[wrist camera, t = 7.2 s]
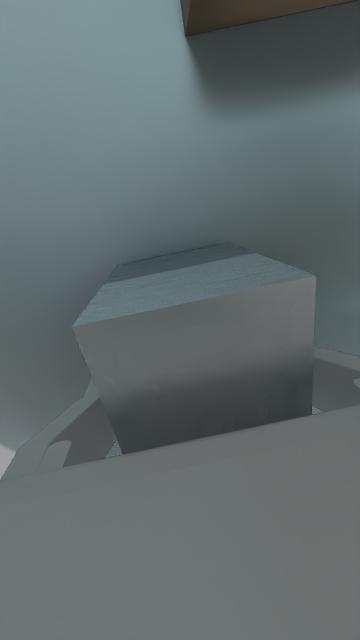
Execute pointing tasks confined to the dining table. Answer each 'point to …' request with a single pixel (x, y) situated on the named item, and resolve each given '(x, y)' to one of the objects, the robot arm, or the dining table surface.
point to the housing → (200, 345)
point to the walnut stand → (240, 11)
